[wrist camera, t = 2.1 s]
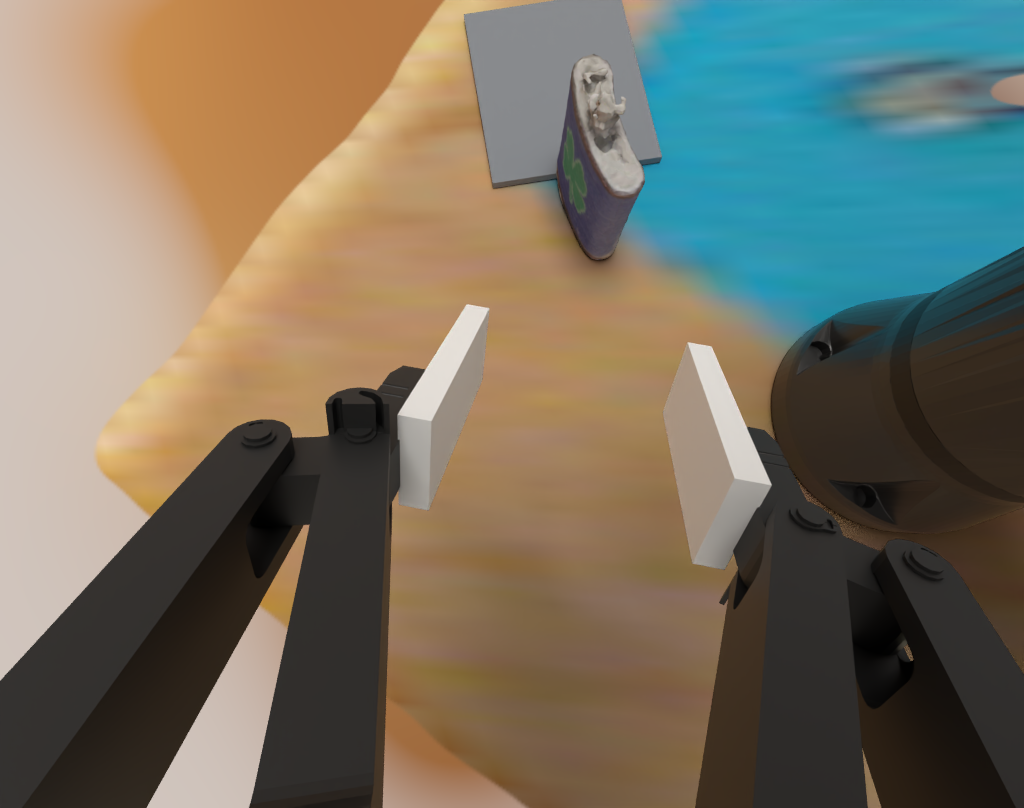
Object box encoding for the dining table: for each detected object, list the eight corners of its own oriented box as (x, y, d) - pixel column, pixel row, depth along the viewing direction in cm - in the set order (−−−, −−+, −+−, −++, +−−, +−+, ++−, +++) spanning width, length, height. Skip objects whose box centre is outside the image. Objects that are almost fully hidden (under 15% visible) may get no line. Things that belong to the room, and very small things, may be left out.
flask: (619, 257, 36) (661, 168, 25) (581, 267, 36) (607, 182, 25) (584, 146, 37) (610, 16, 27) (547, 155, 37) (558, 30, 26)
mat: (659, 162, 38) (661, 156, 37) (493, 188, 37) (492, 183, 37) (617, -3, 41) (619, -10, 40) (464, 21, 41) (463, 14, 40)
